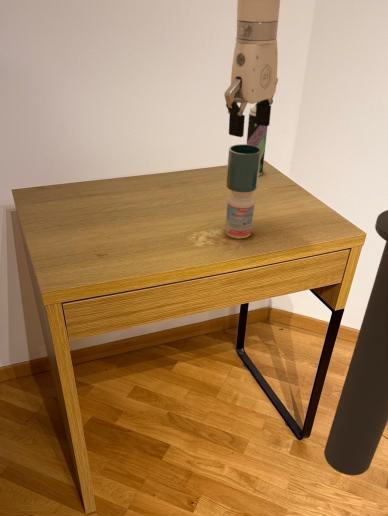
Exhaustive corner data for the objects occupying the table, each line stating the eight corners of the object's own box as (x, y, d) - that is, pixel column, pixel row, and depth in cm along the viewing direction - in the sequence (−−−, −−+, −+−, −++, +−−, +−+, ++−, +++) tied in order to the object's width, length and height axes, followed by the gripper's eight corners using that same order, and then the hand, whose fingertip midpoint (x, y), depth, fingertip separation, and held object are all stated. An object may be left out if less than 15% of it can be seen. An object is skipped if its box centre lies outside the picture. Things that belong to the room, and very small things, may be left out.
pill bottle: (229, 240, 113) (233, 192, 106) (222, 228, 117) (225, 182, 110) (254, 238, 114) (259, 191, 107) (246, 227, 118) (251, 180, 111)
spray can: (241, 170, 149) (247, 98, 136) (257, 169, 150) (265, 97, 138) (248, 177, 145) (255, 103, 132) (265, 175, 146) (273, 101, 134)
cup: (248, 179, 112) (252, 143, 107) (262, 190, 107) (267, 152, 102) (221, 182, 110) (223, 145, 105) (234, 194, 105) (237, 155, 100)
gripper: (247, 39, 83) (241, 144, 94) (297, 29, 94) (286, 124, 105) (212, 35, 87) (209, 136, 98) (263, 26, 97) (256, 118, 108)
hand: (249, 130), depth 101 cm, fingers open, 9 cm apart
